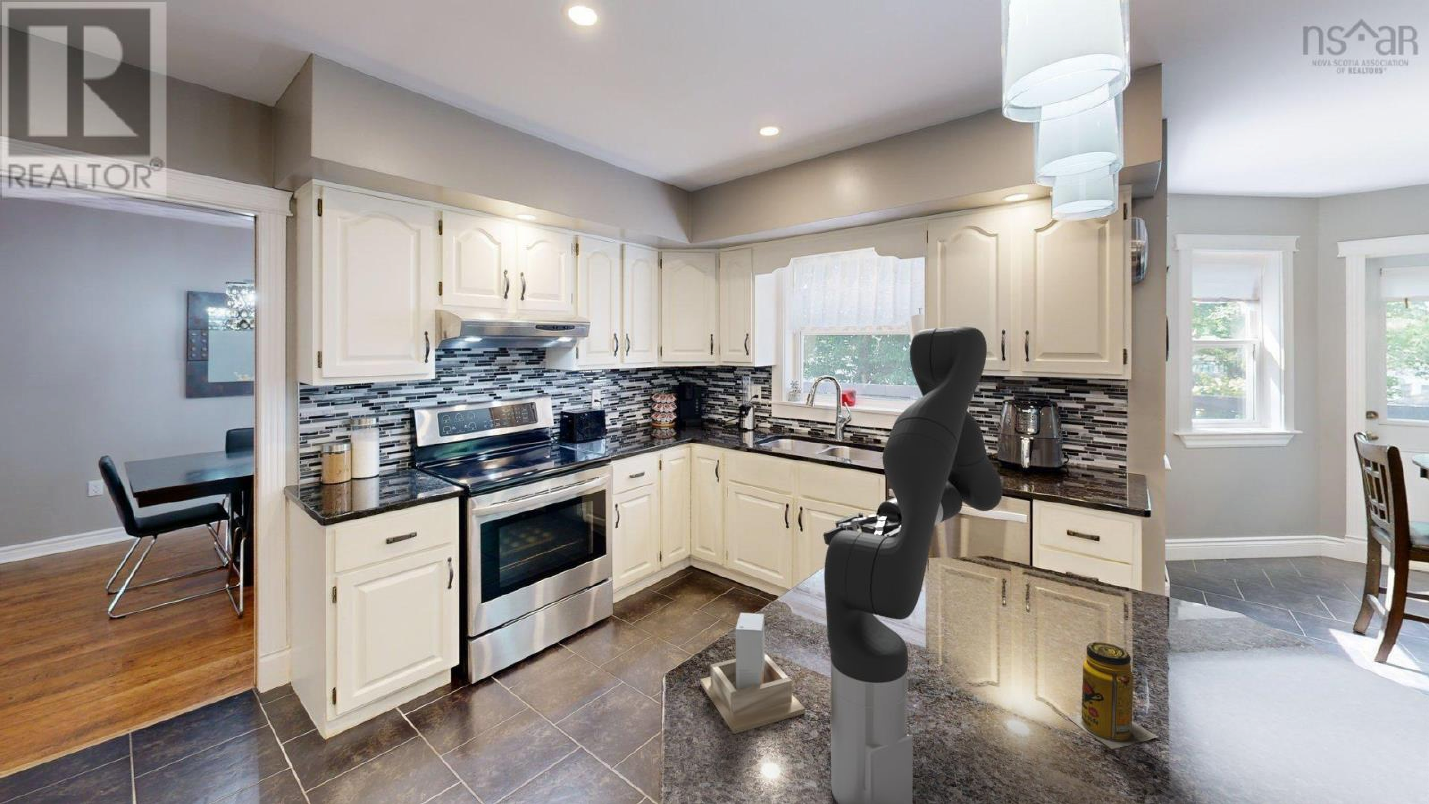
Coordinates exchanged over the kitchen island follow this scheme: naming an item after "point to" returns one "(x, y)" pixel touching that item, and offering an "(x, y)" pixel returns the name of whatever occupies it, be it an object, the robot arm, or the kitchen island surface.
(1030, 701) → the kitchen island surface
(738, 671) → the skincare box
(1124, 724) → the condiment
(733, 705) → the block
